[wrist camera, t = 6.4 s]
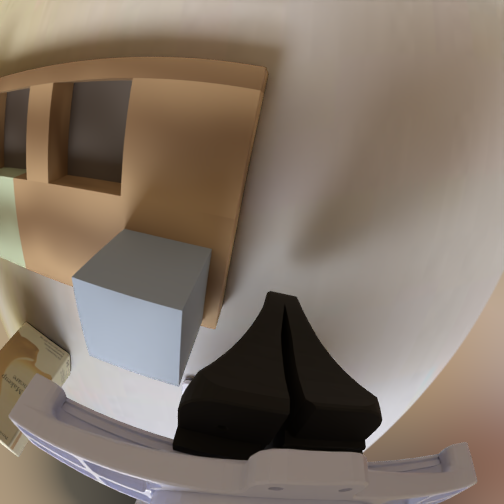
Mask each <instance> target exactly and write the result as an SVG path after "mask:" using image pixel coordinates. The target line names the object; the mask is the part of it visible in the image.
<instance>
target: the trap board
mask: <svg viewBox="0 0 504 504" xmlns="http://www.w3.org/2000/svg"><path fill="white" fill-rule="evenodd" d="M267 78H268V72H267V69H266V67H262V66H256V65H250V64H243V63H236V62H229V61H220V60H210V59H199V58H183V57H119V58H104V59H93V60H84V61H76V62H69V63H62V64H56V65H50V66H45V67H40V68H35V69H31V70H26V71H22V72H18V73H14V74H10V75H7V76H3V77H0V257H1V258H3V259H5V260H8V261H10V262H12V263H15V264H17V265H19V266H21V267H24V268H26V269H29V270H31V271H33V272H36V273H38V274H41V275H43V276H46V277H48V278H51V279H53V280H56V281H59V282H61V283H64V284H67V285H69V286H72V287H73V282H72V276H73V275H74V274H75V273H76V272H77V271H78V270H79V269H80V268H81V267H82V266H83V265H85V264H86V263H87V262H88V261H89V260H90V259H91V258H92V257H93V256H94V255H95V254H96V253H97V252H99V251H100V250H101V249H102V248H103V247H104V246H105V245H106V244H107V243H109V242H110V241H111V240H112V239H113V238H114V237H115V236H117V235H118V234H119V233H120V232H121V231H122V230H123V229H128V230H132V231H136V232H141V233H145V234H149V235H153V236H158V237H162V238H166V239H171V240H175V241H179V242H184V243H188V244H192V245H197V246H201V247H206V248H210V249H212V252H211V259H210V266H209V273H208V280H207V287H206V295H205V302H204V310H203V318H202V323H201V326H203V327H207V328H211V329H215V328H216V325H217V322H218V318H219V315H220V312H221V309H222V304H223V298H224V293H225V287H226V282H227V276H228V271H229V265H230V260H231V255H232V249H233V244H234V239H235V233H236V228H237V223H238V218H239V213H240V208H241V203H242V198H243V192H244V187H245V182H246V177H247V173H248V168H249V163H250V158H251V153H252V148H253V143H254V139H255V134H256V129H257V124H258V120H259V115H260V110H261V106H262V101H263V96H264V92H265V87H266V83H267Z"/></svg>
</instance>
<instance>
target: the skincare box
mask: <svg viewBox="0 0 504 504" xmlns="http://www.w3.org/2000/svg"><path fill="white" fill-rule="evenodd" d="M36 373H38V374H40V375H42V376H44V377H45V378H47V379H49V380H51V381H53V382H55V383H56V384H58V385H59V386H60V387H62V385H63V384H64V382H65V381H66V379H67V378H68V376H69V375H70V355H69V354H68V353H67V352H66V351H64V350H63V349H61V348H60V347H59V346H57V345H56V344H54V343H53V342H52V341H50V340H49V339H48V338H46V337H45V336H44V335H42V334H41V333H40V332H38V331H37V330H36V329H35V328H33V327H32V326H31V325H30V324H28V323H27V322H25V323H24V324H23V326H22V327H21V328H20V329H19V330H18V331H17V332H16V333H15V334H14V335H13V337H12V338H11V339H10V340H9V341H8V342H7V343H6V345H5V346H4V347H3V348H2V349H1V350H0V443H1V444H2V445H4V446H5V447H6V448H7V449H9V450H10V451H11V452H12V453H14V454H15V455H16V456H18V457H19V456H20V454H21V452H22V450H23V449H24V447H25V445H26V443H27V441H28V440H29V439H28V438H27V437H26V436H25V435H24V434H23V433H22V432H21V431H20V430H19V429H18V427H17V426H16V425H15V424H14V423H13V422H12V421H11V419H10V418H9V416H8V415H9V414H10V412H11V410H12V409H13V407H14V406H15V404H16V402H17V401H18V399H19V398H20V396H21V395H22V393H23V392H24V390H25V389H26V387H27V386H28V384H29V383H30V381H31V380H32V378H33V377H34V375H35V374H36Z"/></svg>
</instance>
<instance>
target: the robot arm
mask: <svg viewBox="0 0 504 504" xmlns="http://www.w3.org/2000/svg"><path fill="white" fill-rule="evenodd" d="M8 416H9V418H10V419H11V421H12V422H13V423H14V424H15V425H16V426H17V427H18V429H19V430H20V431H21V432H22V433H23V434H24V435H25V436H26V437H27V438H28V439H29V440H30V441H31V442H32V443H33V444H34V445H36V446H37V447H39V448H40V449H42V450H43V451H45V452H47V453H48V454H50V455H51V456H53V457H55V458H56V459H58V460H60V461H61V462H63V463H65V464H67V465H68V466H70V467H72V468H74V469H75V470H77V471H79V472H81V473H83V474H85V475H86V476H88V477H90V478H92V479H94V480H96V481H98V482H100V483H102V484H104V485H106V486H108V487H110V488H113V489H115V490H117V491H120V492H122V493H124V494H126V495H129V496H131V497H134V498H136V499H137V501H136V503H135V504H437V503H440V502H443V501H445V500H447V499H449V498H451V497H453V496H455V495H456V494H458V493H460V492H462V491H464V490H466V489H467V488H469V487H470V486H472V485H474V484H476V483H477V478H476V474H475V470H474V466H473V462H472V458H471V455H470V451H469V448H468V444H467V443H466V442H464V443H459V444H454V445H451V446H449V447H447V448H445V449H444V450H442V451H441V452H440V453H439V454H436V455H430V456H424V457H417V458H410V459H402V460H393V461H382V462H367V458H366V457H365V456H364V455H363V452H362V450H364V449H365V447H366V445H365V440H366V439H367V438H368V437H369V436H370V435H371V434H372V433H373V432H374V431H375V430H376V429H377V428H378V427H379V426H380V425H381V422H382V416H381V410H380V406H379V402H378V399H377V397H376V396H374V395H373V394H371V393H370V392H369V391H367V390H366V389H365V388H363V387H362V386H361V385H359V384H358V383H357V382H356V381H355V380H354V379H352V378H351V377H350V376H349V375H348V374H347V373H346V372H345V371H344V370H343V369H342V368H341V367H340V366H339V365H338V364H337V363H336V362H335V360H334V359H333V358H332V357H331V356H330V354H329V353H328V352H327V350H326V349H325V348H324V346H323V345H322V344H321V342H320V341H319V339H318V337H317V336H316V334H315V332H314V331H313V329H312V327H311V325H310V323H309V322H308V320H307V318H306V316H305V314H304V312H303V310H302V307H301V305H300V303H299V301H298V299H297V297H295V296H290V295H286V294H281V293H276V292H272V291H270V292H268V293H267V295H266V299H265V302H264V305H263V308H262V310H261V311H260V313H259V315H258V317H257V318H256V320H255V321H254V323H253V324H252V325H251V327H250V328H249V329H248V331H247V332H246V333H245V334H244V335H243V337H242V338H241V339H240V340H239V341H238V342H237V343H236V344H235V345H234V346H233V347H232V348H231V349H230V350H228V351H227V352H226V353H225V354H223V355H222V356H221V357H220V358H218V359H217V360H216V361H214V362H213V363H211V364H210V365H208V366H206V367H205V368H203V369H202V370H200V371H199V372H198V373H197V374H196V375H195V377H194V378H193V379H192V381H191V380H185V381H184V382H183V386H182V397H181V401H180V404H179V408H178V427H177V430H176V434H175V437H174V440H173V439H170V438H167V437H163V436H160V435H157V434H154V433H151V432H148V431H145V430H142V429H139V428H136V427H133V426H131V425H128V424H125V423H123V422H120V421H118V420H115V419H113V418H110V417H108V416H105V415H103V414H101V413H98V412H96V411H94V410H92V409H89V408H87V407H85V406H83V405H81V404H79V403H77V402H75V401H73V400H71V399H69V398H67V397H66V394H65V392H64V390H63V389H62V388H61V387H60V386H59V385H58V384H56V383H55V382H53V381H51V380H49V379H47V378H45V377H44V376H42V375H40V374H38V373H36V374H35V375H34V377H33V378H32V380H31V381H30V383H29V384H28V386H27V387H26V389H25V390H24V392H23V393H22V395H21V396H20V398H19V399H18V401H17V402H16V404H15V406H14V407H13V409H12V410H11V412H10V414H9V415H8Z"/></svg>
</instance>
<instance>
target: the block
mask: <svg viewBox="0 0 504 504" xmlns="http://www.w3.org/2000/svg"><path fill="white" fill-rule="evenodd" d="M211 252H212V249H210V248H206V247H201V246H197V245H192V244H188V243H184V242H179V241H175V240H171V239H166V238H162V237H158V236H153V235H149V234H145V233H141V232H136V231H132V230H128V229H123V230H122V231H121V232H120V233H119V234H118V235H117V236H115V237H114V238H113V239H112V240H111V241H110V242H109V243H107V244H106V245H105V246H104V247H103V248H102V249H101V250H100V251H99V252H97V253H96V254H95V255H94V256H93V257H92V258H91V259H90V260H89V261H88V262H87V263H86V264H85V265H83V266H82V267H81V268H80V269H79V270H78V271H77V272H76V273H75V274H74V275H73V276H72V282H73V288H74V293H75V298H76V303H77V308H78V313H79V317H80V321H81V325H82V330H83V333H84V337H85V341H86V345H87V348H88V352H89V355H90V356H92V357H94V358H97V359H99V360H102V361H104V362H107V363H110V364H112V365H115V366H117V367H120V368H123V369H126V370H128V371H131V372H134V373H137V374H140V375H143V376H146V377H149V378H152V379H155V380H158V381H162V382H165V383H168V384H172V385H175V386H179V385H180V382H181V379H182V376H183V373H184V370H185V368H186V365H187V362H188V359H189V356H190V353H191V351H192V348H193V345H194V342H195V340H196V337H197V334H198V331H199V328H200V326H201V323H202V318H203V310H204V302H205V295H206V287H207V280H208V273H209V266H210V259H211Z"/></svg>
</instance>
